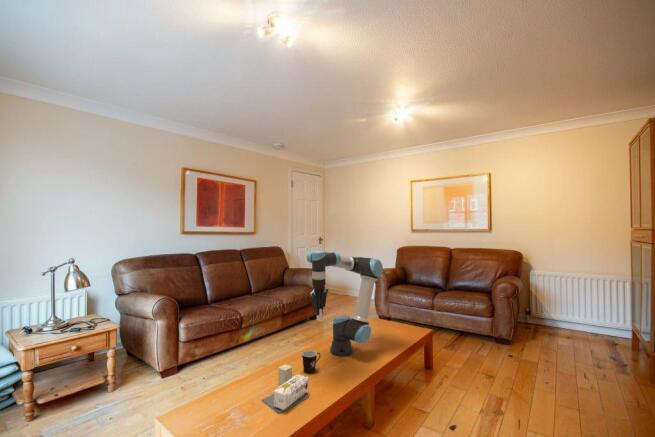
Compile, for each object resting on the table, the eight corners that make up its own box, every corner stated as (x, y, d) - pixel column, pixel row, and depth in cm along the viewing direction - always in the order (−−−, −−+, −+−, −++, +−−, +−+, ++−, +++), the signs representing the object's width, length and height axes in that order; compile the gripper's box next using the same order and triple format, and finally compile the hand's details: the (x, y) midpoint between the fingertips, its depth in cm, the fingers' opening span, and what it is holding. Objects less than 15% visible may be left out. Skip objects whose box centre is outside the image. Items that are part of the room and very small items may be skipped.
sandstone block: (284, 380, 161) (285, 364, 162) (291, 383, 159) (292, 366, 159) (278, 384, 157) (278, 367, 158) (285, 387, 154) (285, 370, 155)
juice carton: (309, 375, 150) (285, 393, 133) (309, 393, 149) (284, 412, 133) (297, 371, 154) (272, 388, 137) (297, 388, 153) (272, 407, 137)
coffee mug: (303, 375, 167) (303, 357, 167) (300, 368, 175) (300, 351, 176) (323, 373, 170) (323, 355, 170) (319, 366, 178) (320, 349, 179)
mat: (291, 386, 156) (291, 385, 156) (309, 397, 146) (309, 396, 146) (261, 400, 143) (261, 399, 143) (278, 413, 133) (278, 412, 133)
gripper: (322, 275, 174) (322, 316, 174) (305, 279, 165) (306, 322, 165) (331, 277, 169) (332, 319, 169) (314, 281, 160) (315, 325, 160)
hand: (319, 320), depth 167 cm, fingers closed
